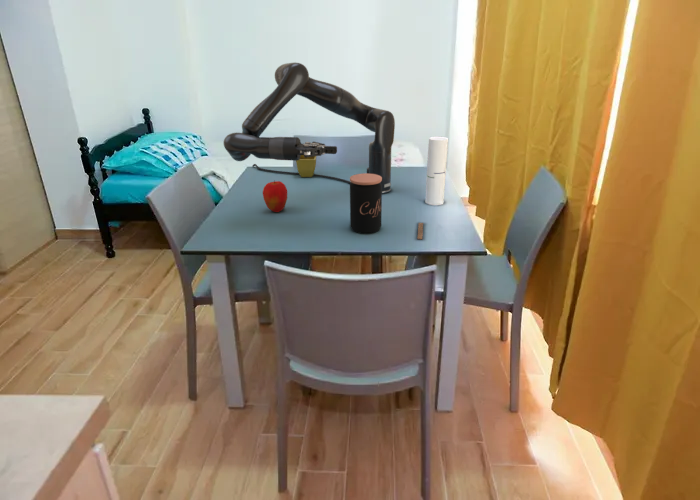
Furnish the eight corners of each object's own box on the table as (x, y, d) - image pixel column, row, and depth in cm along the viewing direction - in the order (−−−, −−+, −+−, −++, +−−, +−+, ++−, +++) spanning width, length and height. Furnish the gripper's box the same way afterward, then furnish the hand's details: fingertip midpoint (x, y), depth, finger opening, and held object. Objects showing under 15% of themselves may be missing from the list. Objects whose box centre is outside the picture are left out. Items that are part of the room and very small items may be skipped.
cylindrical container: (443, 205, 188) (448, 140, 178) (424, 204, 190) (428, 140, 179) (443, 199, 195) (448, 136, 184) (425, 198, 196) (429, 136, 185)
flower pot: (315, 178, 224) (315, 159, 220) (296, 178, 224) (295, 159, 220) (317, 173, 232) (316, 154, 228) (298, 173, 232) (297, 154, 228)
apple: (279, 204, 191) (276, 175, 186) (293, 210, 185) (291, 179, 180) (259, 210, 185) (256, 180, 180) (273, 216, 180) (271, 185, 174)
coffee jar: (359, 236, 161) (359, 184, 154) (344, 226, 170) (344, 176, 163) (387, 230, 166) (388, 179, 158) (371, 220, 174) (371, 171, 167)
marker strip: (417, 239, 159) (417, 238, 159) (418, 223, 171) (418, 222, 171) (422, 239, 159) (422, 238, 159) (423, 223, 171) (423, 222, 171)
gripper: (278, 141, 153) (332, 142, 151) (289, 133, 165) (340, 134, 162) (279, 164, 156) (333, 166, 154) (290, 155, 168) (340, 156, 166)
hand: (336, 150), depth 158 cm, fingers closed
